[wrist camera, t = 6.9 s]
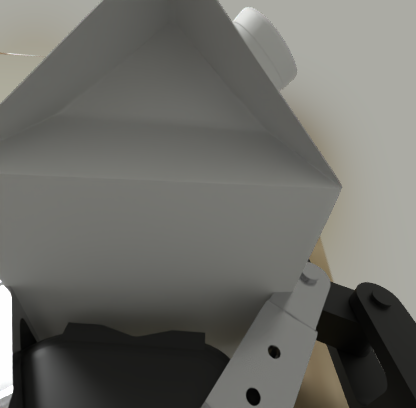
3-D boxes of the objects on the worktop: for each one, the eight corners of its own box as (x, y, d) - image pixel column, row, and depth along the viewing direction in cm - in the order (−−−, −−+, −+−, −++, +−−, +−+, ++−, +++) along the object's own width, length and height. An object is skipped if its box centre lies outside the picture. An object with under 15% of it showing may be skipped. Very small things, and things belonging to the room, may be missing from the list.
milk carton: (90, 443, 12) (-431, -443, 1) (118, 311, 18) (59, -48, 7) (228, 426, 13) (510, -139, 2) (212, 307, 19) (276, -10, 8)
